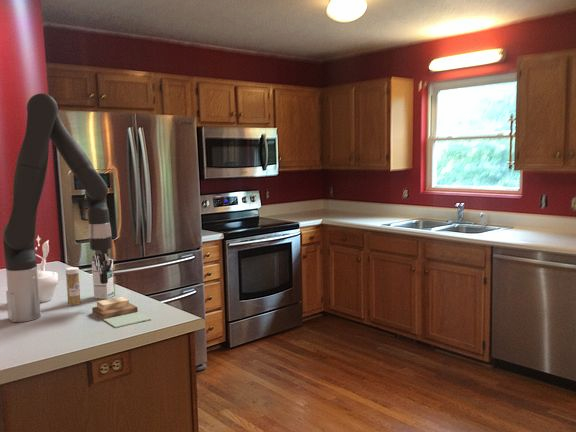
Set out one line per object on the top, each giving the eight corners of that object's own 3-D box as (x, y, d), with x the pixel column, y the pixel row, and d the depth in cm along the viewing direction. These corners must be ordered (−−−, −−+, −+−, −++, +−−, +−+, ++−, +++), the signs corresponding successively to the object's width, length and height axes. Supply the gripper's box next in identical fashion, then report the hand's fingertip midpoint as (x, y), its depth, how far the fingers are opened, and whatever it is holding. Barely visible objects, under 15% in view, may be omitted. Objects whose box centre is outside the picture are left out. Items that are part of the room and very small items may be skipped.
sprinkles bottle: (75, 306, 191) (72, 269, 189) (64, 305, 192) (62, 269, 191) (83, 302, 195) (81, 267, 194) (73, 301, 197) (71, 266, 195)
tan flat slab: (103, 320, 175) (102, 314, 174) (92, 313, 182) (92, 307, 182) (137, 312, 182) (137, 307, 182) (126, 306, 190) (125, 301, 190)
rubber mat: (115, 327, 167) (115, 326, 166) (103, 320, 174) (103, 319, 174) (151, 319, 174) (150, 318, 174) (138, 313, 182) (138, 311, 182)
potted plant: (52, 294, 207) (48, 231, 204) (64, 300, 199) (59, 234, 196) (18, 301, 198) (12, 235, 195) (29, 307, 190) (23, 239, 187)
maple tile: (103, 310, 178) (103, 305, 178) (97, 307, 183) (96, 301, 182) (129, 305, 184) (128, 300, 183) (122, 302, 188) (121, 296, 188)
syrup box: (107, 299, 200) (105, 261, 198) (93, 298, 201) (91, 261, 199) (115, 295, 205) (113, 258, 203) (101, 294, 206) (99, 258, 205)
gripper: (83, 234, 189) (87, 281, 192) (96, 239, 179) (100, 288, 182) (103, 232, 194) (107, 278, 196) (117, 236, 184) (121, 284, 186)
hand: (104, 283), depth 189 cm, fingers closed
